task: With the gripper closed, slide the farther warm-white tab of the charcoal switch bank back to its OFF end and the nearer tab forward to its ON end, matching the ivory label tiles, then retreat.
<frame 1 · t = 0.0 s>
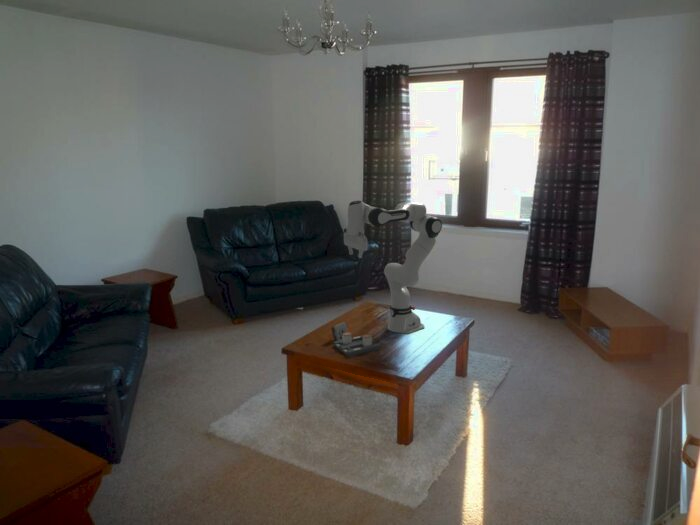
hand: (355, 256, 281), 48 cm above the table, fingers open, 8 cm apart
tab 1: (346, 338, 280), point 5 cm above the table, slide at 8.0 cm
electrical switch: (339, 339, 291), on the table
switch bank: (356, 347, 280), on the table
tab 2: (367, 340, 277), point 5 cm above the table, slide at 0.0 cm
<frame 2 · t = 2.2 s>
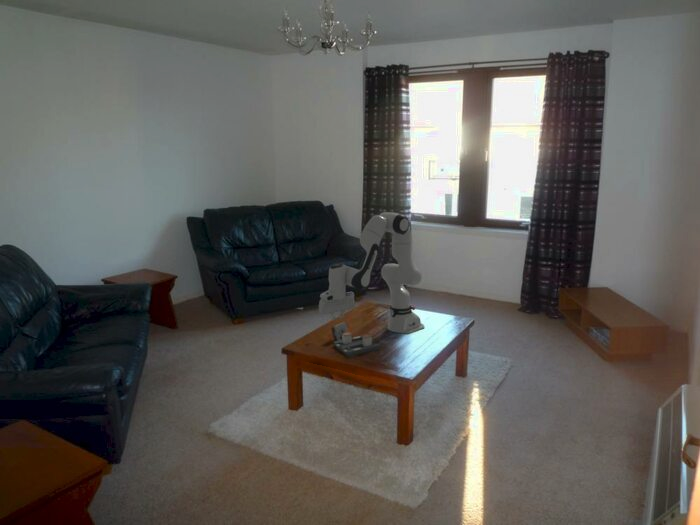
hand: (337, 318, 274), 17 cm above the table, fingers open, 3 cm apart
nothing on the table moved.
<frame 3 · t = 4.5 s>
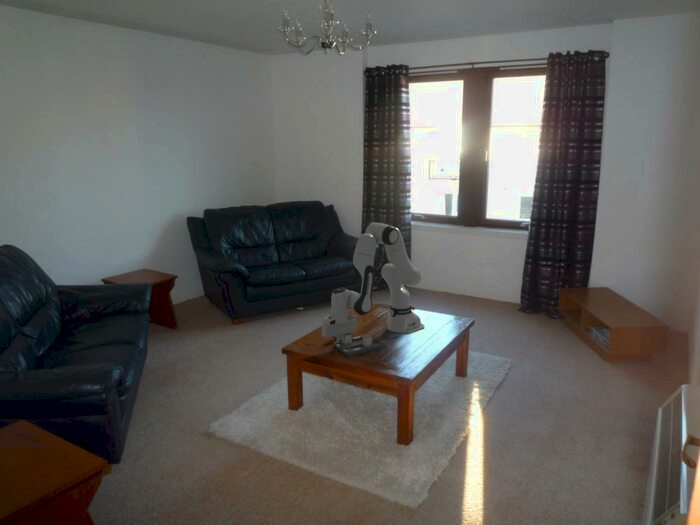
hand: (339, 342, 278), 3 cm above the table, fingers closed
tab 1: (347, 338, 280), point 5 cm above the table, slide at 7.8 cm, touching gripper
everything else where it was.
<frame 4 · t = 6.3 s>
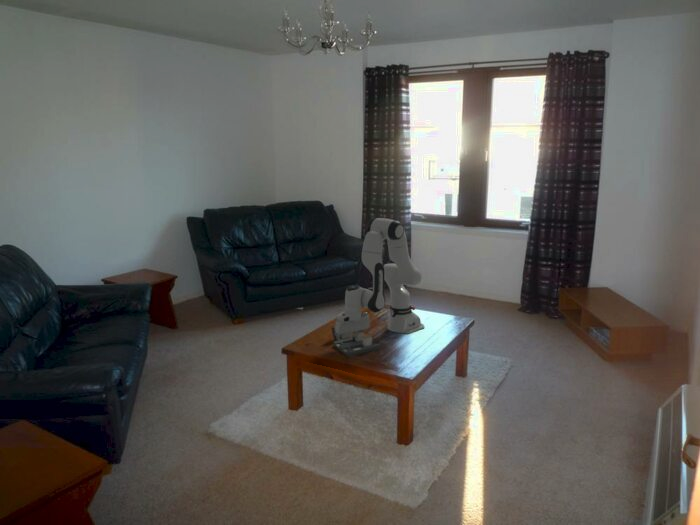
hand: (352, 338, 282), 4 cm above the table, fingers closed
tab 1: (359, 335, 284), point 5 cm above the table, slide at -0.1 cm, touching gripper
everything else where it was.
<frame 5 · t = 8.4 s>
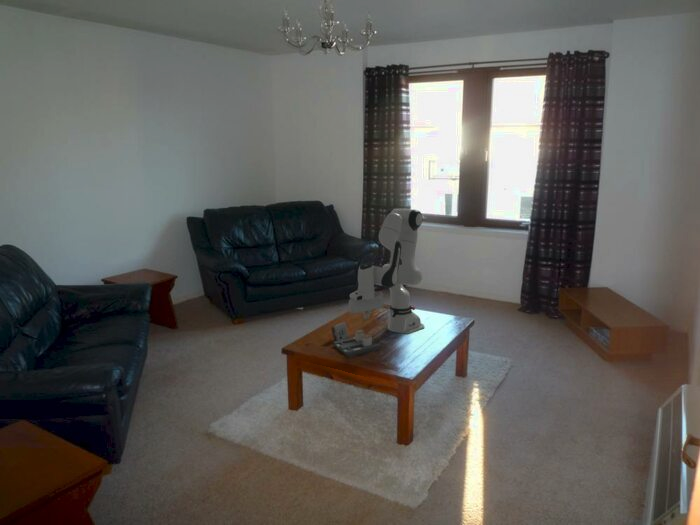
hand: (366, 318, 278), 16 cm above the table, fingers closed
tab 1: (359, 335, 284), point 5 cm above the table, slide at 0.0 cm
everything else where it was.
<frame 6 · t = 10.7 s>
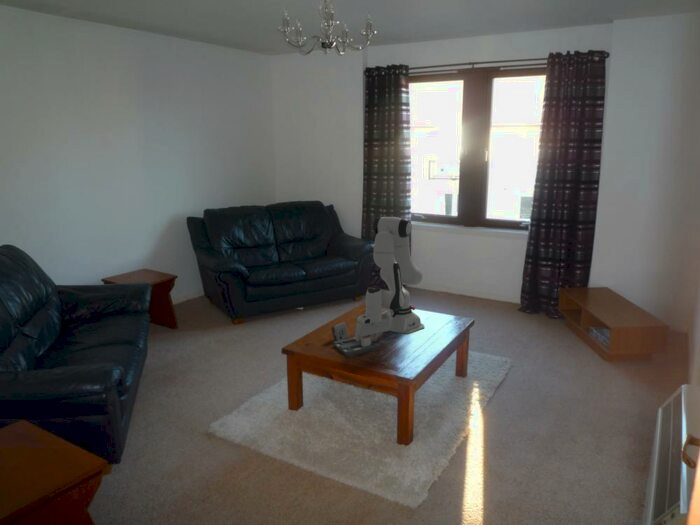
hand: (373, 341, 279), 4 cm above the table, fingers closed
tab 2: (365, 341, 277), point 5 cm above the table, slide at 0.8 cm, touching gripper
everything else where it was.
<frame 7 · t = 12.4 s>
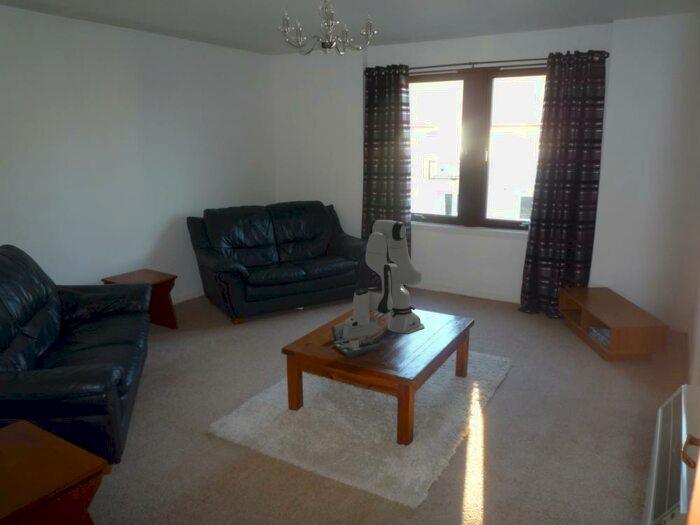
hand: (361, 343, 276), 4 cm above the table, fingers closed
tab 2: (354, 343, 273), point 5 cm above the table, slide at 8.1 cm, touching gripper
everything else where it was.
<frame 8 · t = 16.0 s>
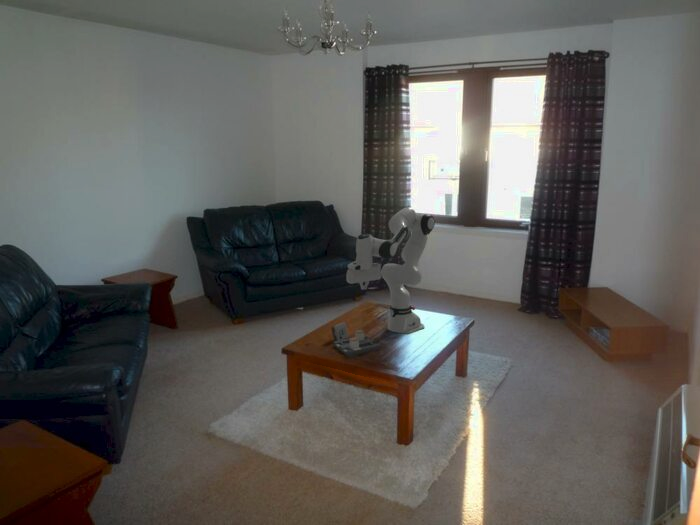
hand: (363, 289, 279), 31 cm above the table, fingers closed
tab 2: (354, 343, 273), point 5 cm above the table, slide at 8.0 cm
everything else where it was.
at the end: tab 1 slide at 0.0 cm; tab 2 slide at 8.0 cm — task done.
